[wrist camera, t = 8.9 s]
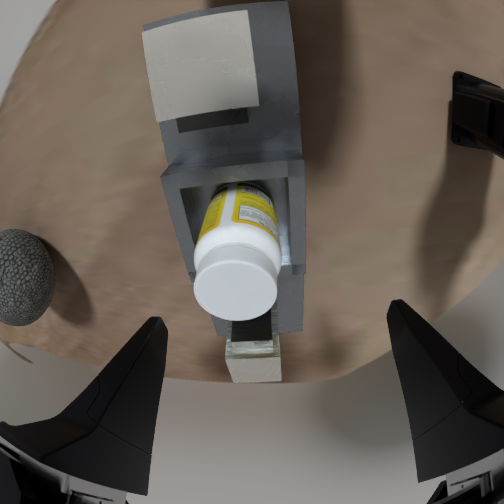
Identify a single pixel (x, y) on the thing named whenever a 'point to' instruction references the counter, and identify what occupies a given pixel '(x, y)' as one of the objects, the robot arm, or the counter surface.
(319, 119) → the counter surface
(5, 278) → the decorative ball
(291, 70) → the rail
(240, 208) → the supplement bottle
